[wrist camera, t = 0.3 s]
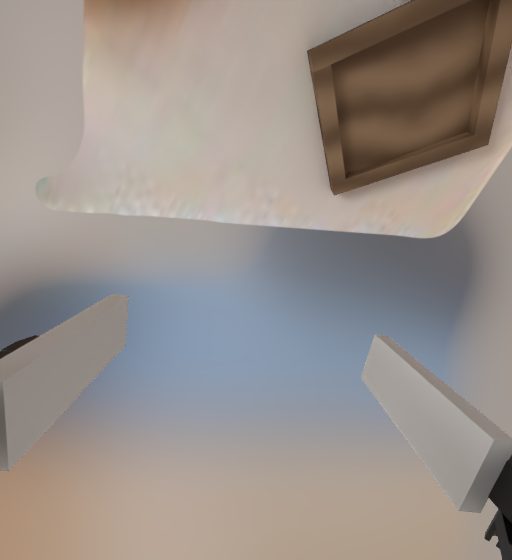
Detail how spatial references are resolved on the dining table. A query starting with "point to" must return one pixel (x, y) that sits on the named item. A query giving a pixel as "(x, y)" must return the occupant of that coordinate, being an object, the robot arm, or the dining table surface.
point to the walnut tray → (410, 87)
